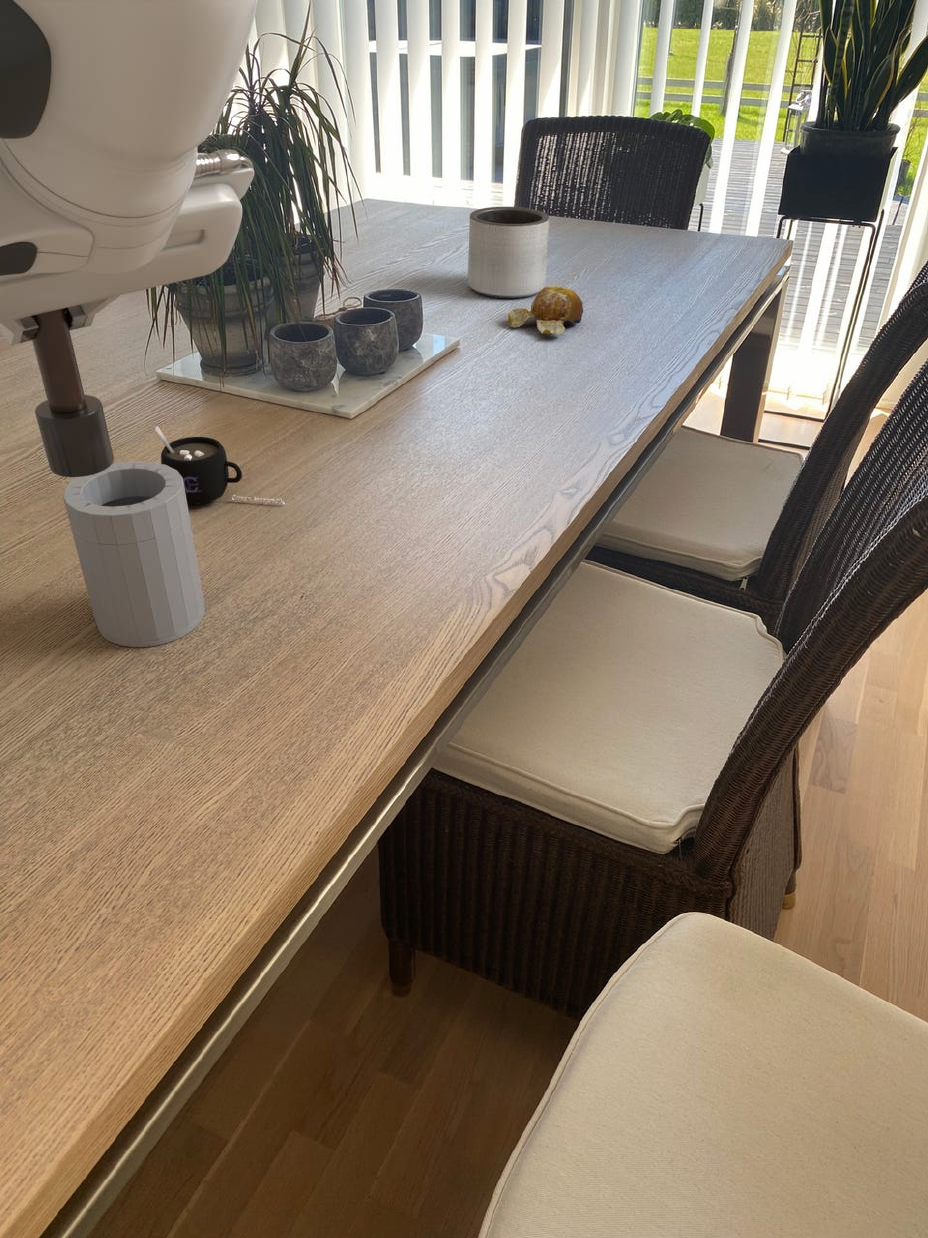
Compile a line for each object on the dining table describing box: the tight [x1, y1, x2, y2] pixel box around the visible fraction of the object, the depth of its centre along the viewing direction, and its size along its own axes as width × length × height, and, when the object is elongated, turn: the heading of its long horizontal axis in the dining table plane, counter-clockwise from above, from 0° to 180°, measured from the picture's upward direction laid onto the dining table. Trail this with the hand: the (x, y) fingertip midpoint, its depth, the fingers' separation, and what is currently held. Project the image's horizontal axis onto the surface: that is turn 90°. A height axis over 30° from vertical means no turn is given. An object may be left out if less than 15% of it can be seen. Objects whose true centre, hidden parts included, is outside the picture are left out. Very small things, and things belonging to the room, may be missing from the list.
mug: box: [154, 425, 285, 505], centre depth 92 cm, size 12×6×8 cm, turn 83°
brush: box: [31, 308, 115, 478], centre depth 57 cm, size 4×4×16 cm
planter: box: [467, 206, 550, 299], centre depth 150 cm, size 12×12×11 cm
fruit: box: [507, 286, 584, 336], centre depth 137 cm, size 11×11×5 cm
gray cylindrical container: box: [62, 460, 206, 648], centre depth 75 cm, size 9×9×12 cm
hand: (43, 325), depth 57 cm, fingers closed on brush, 2 cm apart
